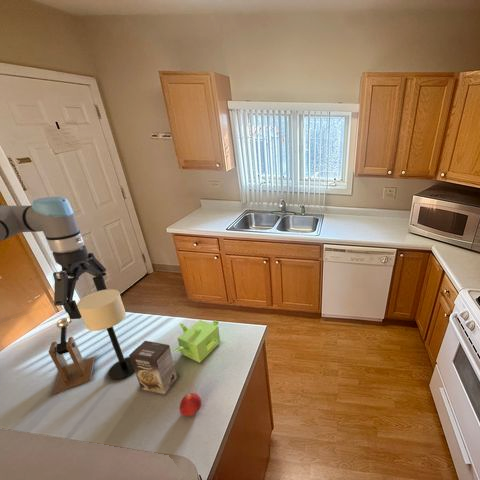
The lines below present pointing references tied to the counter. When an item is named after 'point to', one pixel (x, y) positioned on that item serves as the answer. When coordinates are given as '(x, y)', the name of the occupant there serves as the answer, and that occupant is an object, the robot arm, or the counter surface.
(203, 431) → the counter surface
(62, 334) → the black pendulum
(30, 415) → the counter surface
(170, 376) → the coffee box
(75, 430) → the counter surface
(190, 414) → the red apple
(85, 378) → the wooden globe stand
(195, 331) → the cube with spouts
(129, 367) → the desk lamp
